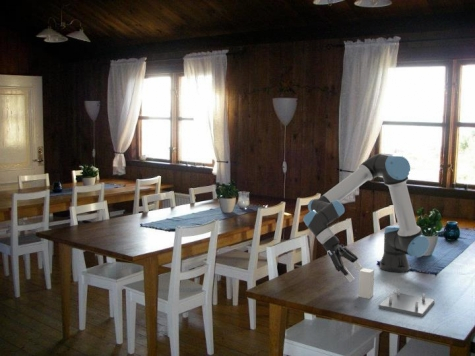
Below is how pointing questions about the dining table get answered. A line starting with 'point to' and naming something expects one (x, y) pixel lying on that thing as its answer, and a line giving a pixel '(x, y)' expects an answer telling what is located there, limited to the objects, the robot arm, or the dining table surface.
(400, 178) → the robot arm
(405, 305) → the plate
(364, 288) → the block
